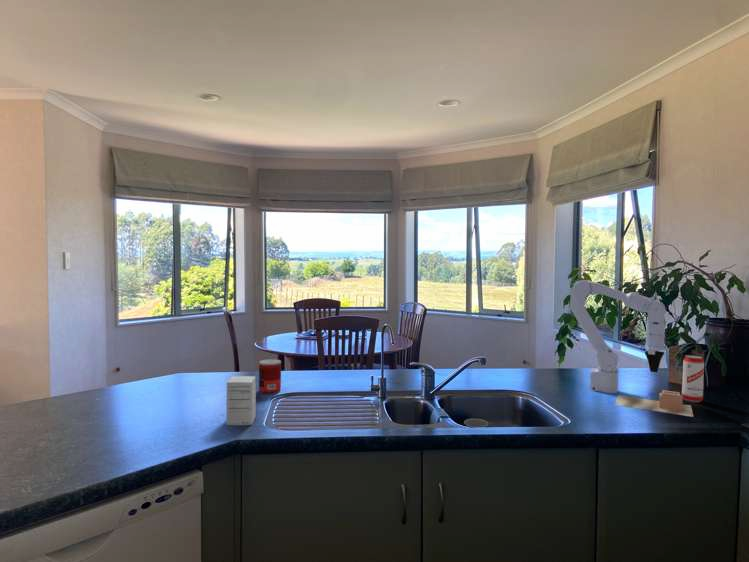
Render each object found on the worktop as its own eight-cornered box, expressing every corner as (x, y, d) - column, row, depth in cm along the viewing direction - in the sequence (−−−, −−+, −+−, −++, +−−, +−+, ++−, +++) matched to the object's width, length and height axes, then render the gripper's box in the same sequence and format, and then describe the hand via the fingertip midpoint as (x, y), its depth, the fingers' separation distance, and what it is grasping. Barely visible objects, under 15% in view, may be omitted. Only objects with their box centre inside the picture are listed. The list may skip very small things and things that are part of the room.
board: (614, 408, 158) (615, 395, 158) (617, 398, 170) (618, 386, 170) (693, 420, 146) (694, 407, 146) (690, 409, 158) (691, 396, 158)
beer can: (705, 403, 165) (707, 358, 165) (686, 402, 166) (688, 357, 166) (697, 398, 171) (699, 355, 171) (678, 397, 173) (680, 354, 172)
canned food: (284, 389, 173) (285, 360, 172) (271, 395, 165) (271, 364, 165) (268, 387, 176) (268, 358, 175) (254, 392, 169) (254, 362, 168)
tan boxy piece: (659, 407, 155) (659, 392, 155) (659, 404, 159) (659, 389, 159) (682, 411, 152) (682, 395, 151) (681, 407, 156) (682, 392, 156)
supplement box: (231, 417, 141) (231, 375, 141) (256, 416, 142) (256, 375, 142) (225, 425, 134) (225, 382, 134) (251, 425, 135) (252, 382, 134)
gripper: (665, 337, 160) (664, 377, 160) (670, 333, 171) (669, 370, 171) (641, 335, 164) (640, 373, 164) (648, 331, 175) (647, 367, 176)
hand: (653, 371), depth 168 cm, fingers closed
